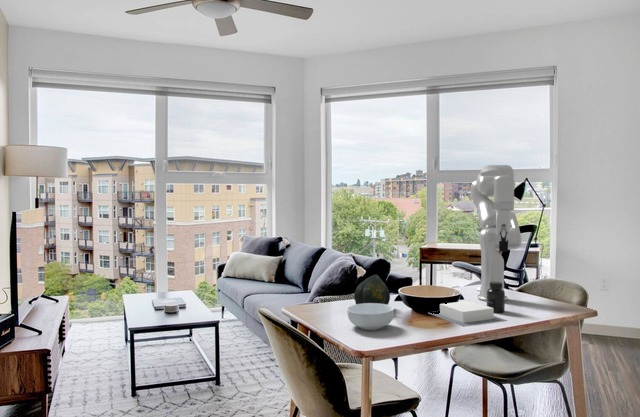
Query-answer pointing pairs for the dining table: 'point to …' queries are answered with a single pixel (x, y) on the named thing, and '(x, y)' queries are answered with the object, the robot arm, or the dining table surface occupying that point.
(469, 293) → the dining table surface
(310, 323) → the dining table surface
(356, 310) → the cereal bowl
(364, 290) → the squash
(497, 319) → the mat
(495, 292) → the supplement bottle
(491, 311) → the plinth block
